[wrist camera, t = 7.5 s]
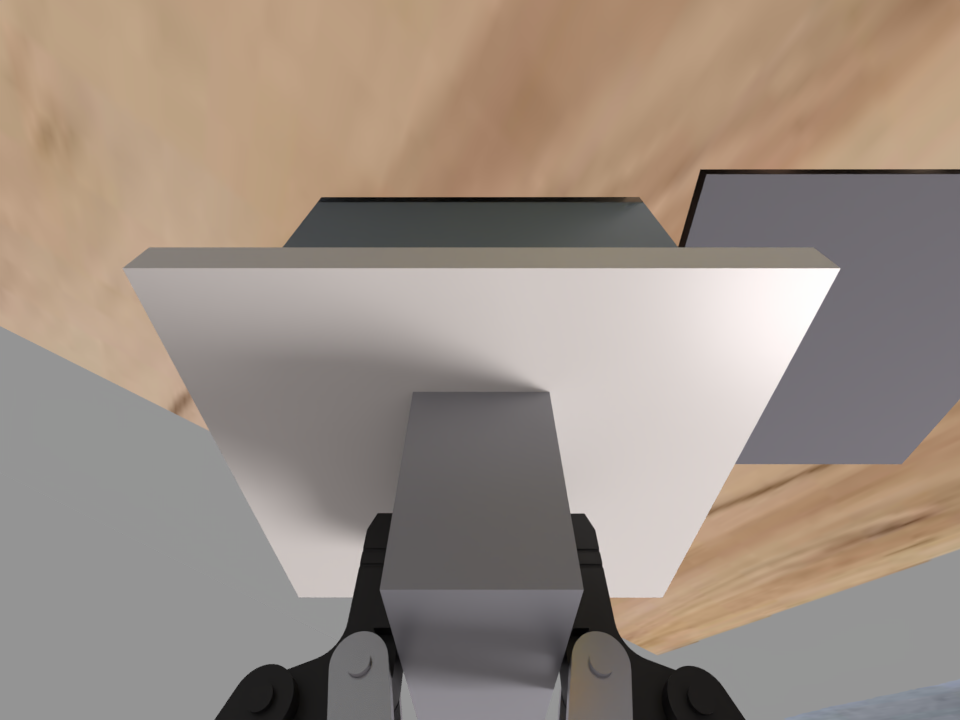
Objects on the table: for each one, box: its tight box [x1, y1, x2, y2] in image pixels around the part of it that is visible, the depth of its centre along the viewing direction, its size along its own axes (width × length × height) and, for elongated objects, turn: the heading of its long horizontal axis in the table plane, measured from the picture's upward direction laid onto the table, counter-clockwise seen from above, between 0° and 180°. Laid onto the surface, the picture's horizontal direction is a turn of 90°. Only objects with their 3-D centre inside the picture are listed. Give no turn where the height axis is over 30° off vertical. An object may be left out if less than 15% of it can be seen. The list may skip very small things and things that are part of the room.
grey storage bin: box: [283, 197, 678, 247], centre depth 19 cm, size 12×12×6 cm
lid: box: [122, 247, 841, 720], centre depth 13 cm, size 15×15×6 cm
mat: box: [678, 169, 960, 464], centre depth 21 cm, size 16×16×1 cm
